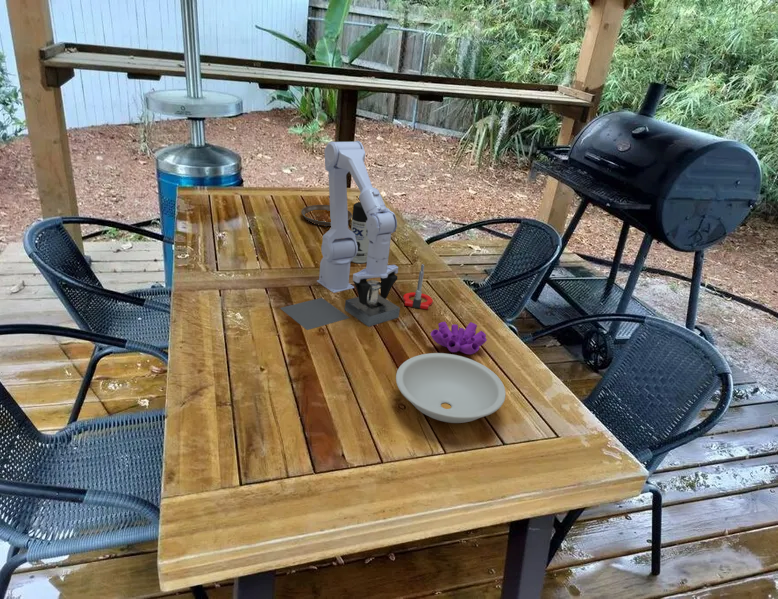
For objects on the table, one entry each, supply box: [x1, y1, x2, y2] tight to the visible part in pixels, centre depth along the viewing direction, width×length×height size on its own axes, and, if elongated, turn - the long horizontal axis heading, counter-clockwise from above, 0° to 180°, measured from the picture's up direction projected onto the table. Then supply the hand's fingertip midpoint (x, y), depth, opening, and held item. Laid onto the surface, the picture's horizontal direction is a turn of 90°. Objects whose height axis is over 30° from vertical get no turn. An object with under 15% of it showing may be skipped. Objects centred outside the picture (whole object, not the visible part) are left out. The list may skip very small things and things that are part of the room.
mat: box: [279, 297, 350, 331], centre depth 156 cm, size 14×14×1 cm
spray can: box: [350, 201, 369, 265], centre depth 190 cm, size 7×7×20 cm
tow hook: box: [402, 263, 434, 310], centre depth 168 cm, size 9×14×10 cm
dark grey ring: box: [301, 204, 353, 227], centre depth 229 cm, size 21×21×3 cm
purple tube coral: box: [430, 321, 488, 355], centre depth 146 cm, size 11×15×10 cm
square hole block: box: [344, 293, 401, 328], centre depth 159 cm, size 11×11×4 cm
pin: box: [366, 279, 381, 309], centre depth 157 cm, size 4×4×10 cm
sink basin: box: [395, 352, 507, 424], centre depth 123 cm, size 24×24×7 cm
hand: (373, 300), depth 157 cm, fingers open, 7 cm apart
